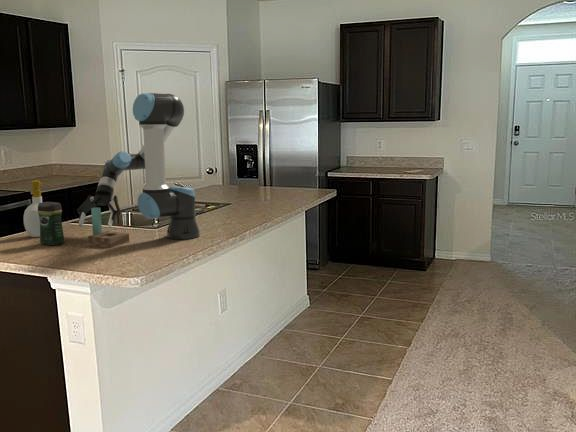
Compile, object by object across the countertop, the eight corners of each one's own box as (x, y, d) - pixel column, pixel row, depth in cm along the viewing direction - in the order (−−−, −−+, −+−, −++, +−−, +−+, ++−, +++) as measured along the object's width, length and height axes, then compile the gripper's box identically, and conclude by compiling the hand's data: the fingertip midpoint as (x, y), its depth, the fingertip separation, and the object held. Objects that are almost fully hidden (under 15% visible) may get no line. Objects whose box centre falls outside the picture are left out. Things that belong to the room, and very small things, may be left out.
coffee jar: (67, 242, 249) (64, 201, 246) (54, 246, 242) (50, 203, 239) (50, 241, 253) (47, 200, 250) (37, 244, 245) (33, 202, 242)
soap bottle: (32, 239, 255) (27, 182, 251) (20, 237, 260) (15, 181, 256) (60, 234, 267) (56, 179, 262) (48, 232, 272) (44, 178, 267)
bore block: (129, 242, 250) (128, 233, 249) (110, 247, 239) (110, 238, 239) (108, 239, 255) (107, 231, 254) (88, 245, 244) (88, 236, 243)
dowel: (104, 237, 260) (102, 207, 257) (98, 239, 256) (96, 208, 254) (97, 236, 261) (95, 207, 259) (91, 238, 258) (89, 208, 255)
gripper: (133, 193, 270) (124, 230, 257) (83, 193, 271) (71, 229, 259) (129, 183, 264) (119, 221, 251) (77, 183, 265) (65, 220, 253)
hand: (94, 225), depth 255 cm, fingers open, 13 cm apart
